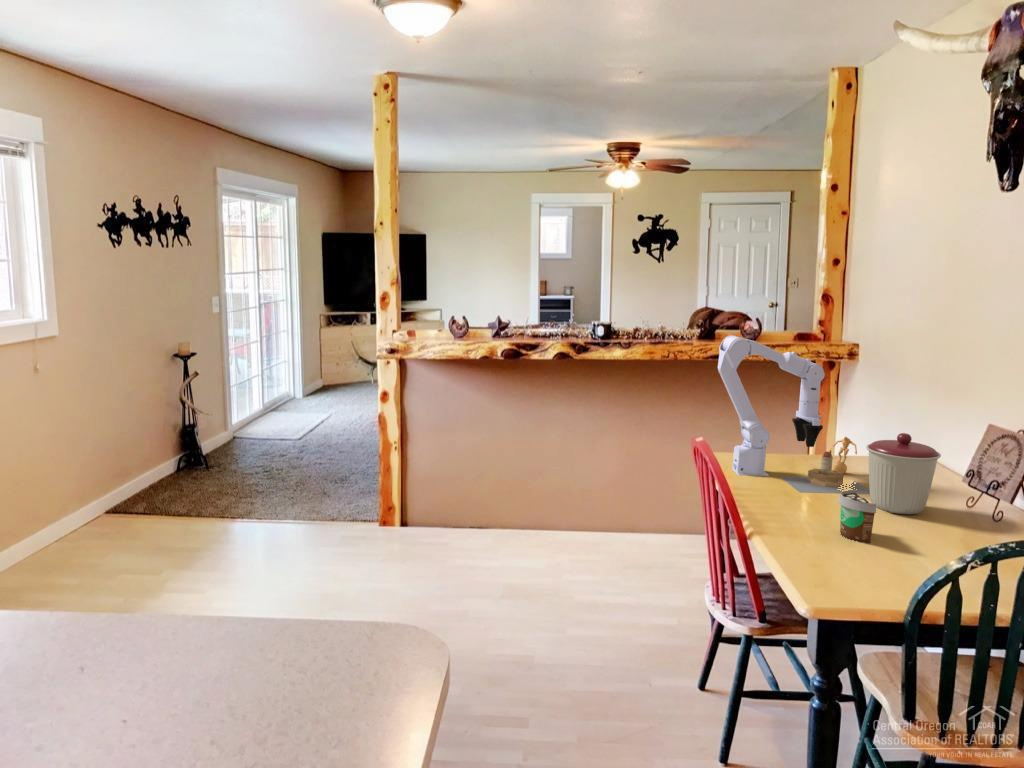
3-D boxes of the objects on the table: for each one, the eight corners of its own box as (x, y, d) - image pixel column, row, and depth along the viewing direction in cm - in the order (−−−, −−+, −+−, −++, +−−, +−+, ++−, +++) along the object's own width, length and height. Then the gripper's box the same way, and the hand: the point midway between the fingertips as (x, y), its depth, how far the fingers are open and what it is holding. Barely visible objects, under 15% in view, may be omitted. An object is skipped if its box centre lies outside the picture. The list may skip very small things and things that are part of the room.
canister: (868, 495, 228) (875, 423, 224) (938, 507, 217) (947, 433, 214) (853, 510, 213) (861, 433, 210) (928, 524, 203) (937, 444, 199)
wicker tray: (815, 486, 234) (816, 476, 234) (804, 477, 243) (805, 468, 243) (846, 486, 234) (847, 477, 234) (833, 478, 243) (834, 469, 243)
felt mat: (799, 493, 227) (799, 492, 227) (779, 477, 244) (779, 476, 244) (875, 495, 227) (875, 494, 227) (849, 479, 244) (850, 478, 244)
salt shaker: (822, 483, 237) (824, 452, 236) (818, 480, 240) (820, 450, 239) (831, 483, 237) (834, 452, 236) (827, 481, 240) (830, 450, 239)
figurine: (823, 472, 252) (827, 435, 250) (832, 469, 256) (836, 433, 254) (849, 478, 246) (853, 440, 244) (858, 475, 250) (861, 438, 248)
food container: (827, 527, 198) (830, 488, 197) (852, 528, 198) (855, 489, 197) (846, 544, 186) (850, 503, 185) (872, 545, 186) (876, 504, 184)
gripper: (831, 405, 238) (827, 449, 240) (812, 397, 252) (809, 438, 254) (808, 405, 238) (804, 448, 240) (790, 396, 252) (787, 438, 254)
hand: (805, 443), depth 247 cm, fingers open, 7 cm apart
